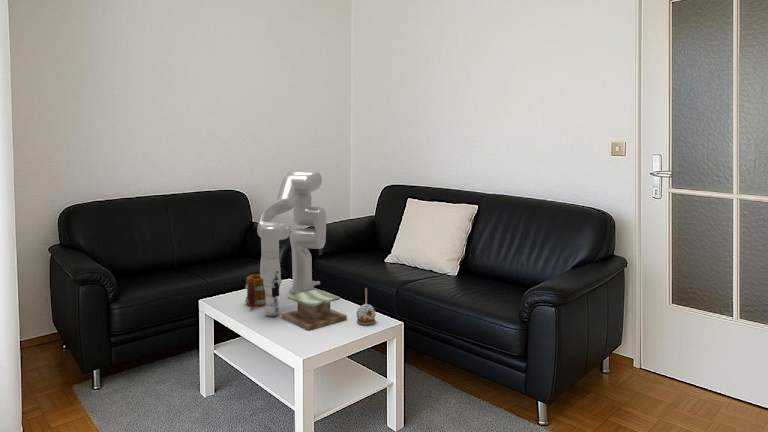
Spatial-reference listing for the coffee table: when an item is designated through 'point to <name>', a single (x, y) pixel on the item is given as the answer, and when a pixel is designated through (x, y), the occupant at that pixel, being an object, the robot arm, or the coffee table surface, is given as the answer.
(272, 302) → the plastic bottle
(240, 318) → the coffee table surface
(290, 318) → the walnut stand
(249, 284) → the mug
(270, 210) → the robot arm
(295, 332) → the coffee table surface
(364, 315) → the decorative ornament
